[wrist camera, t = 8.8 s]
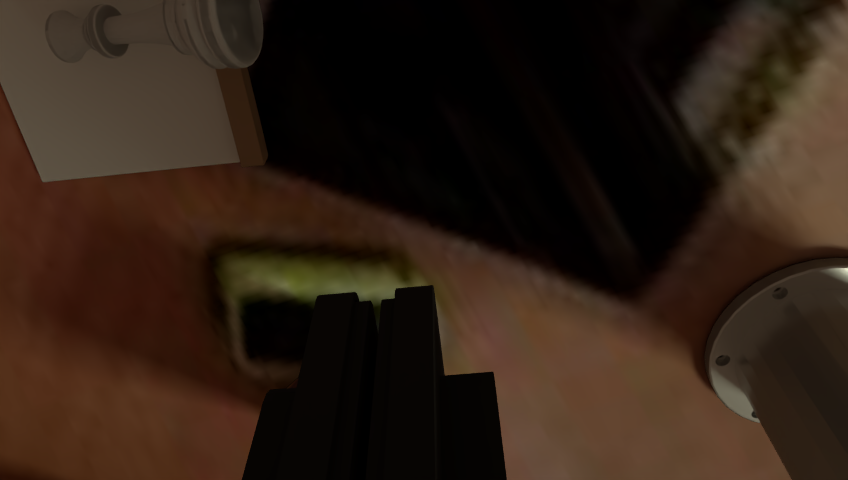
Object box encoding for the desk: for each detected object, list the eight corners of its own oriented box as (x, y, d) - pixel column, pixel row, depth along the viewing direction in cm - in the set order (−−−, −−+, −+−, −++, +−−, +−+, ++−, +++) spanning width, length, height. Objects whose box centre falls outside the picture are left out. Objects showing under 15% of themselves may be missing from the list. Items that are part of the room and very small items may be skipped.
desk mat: (184, -195, 30) (175, -195, 29) (268, 155, 38) (264, 165, 37) (-96, -159, 31) (-114, -158, 30) (46, 178, 39) (36, 188, 38)
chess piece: (224, 71, 29) (24, 92, 32) (271, 63, 33) (90, 82, 36) (203, -43, 28) (-3, -12, 31) (255, -37, 32) (69, -10, 35)
